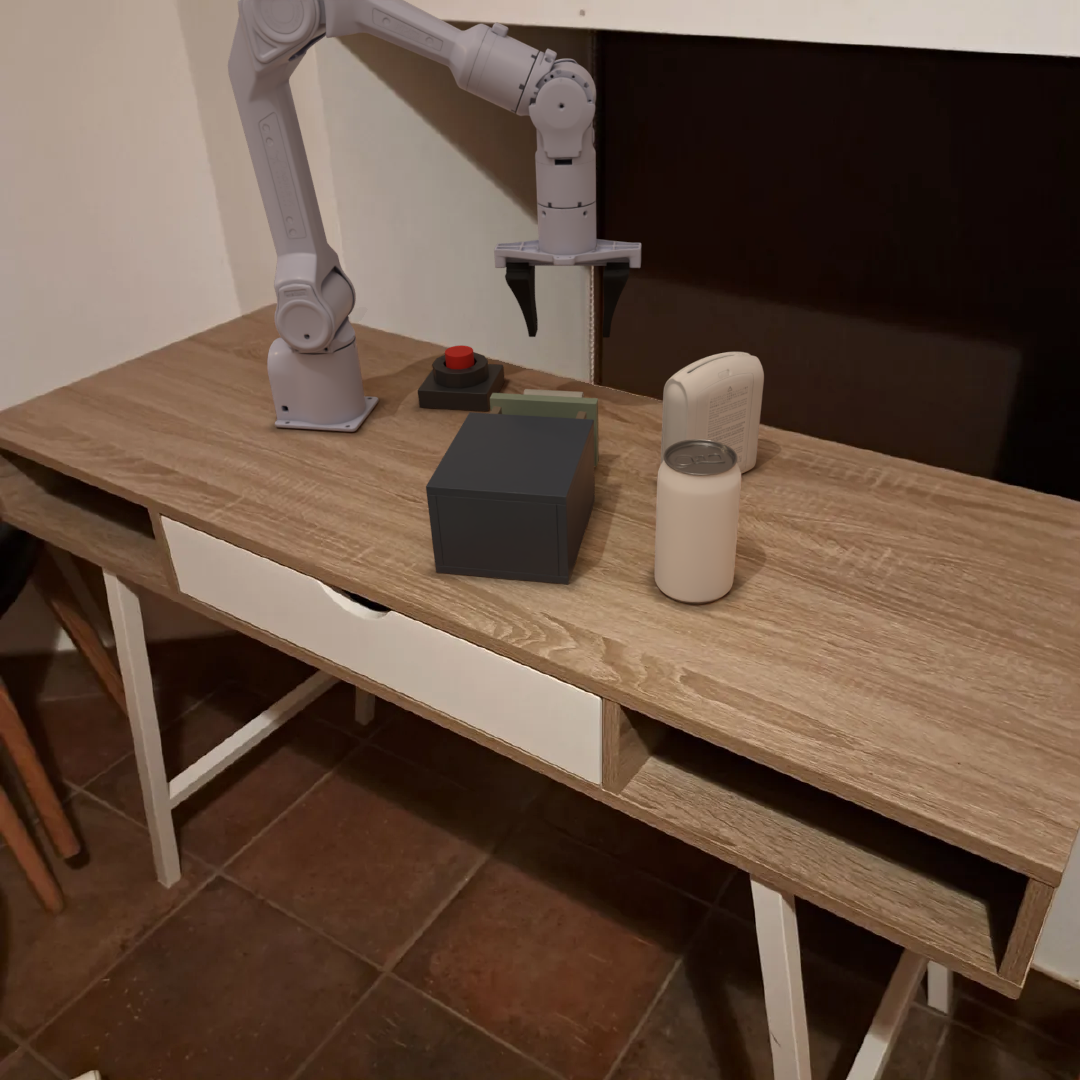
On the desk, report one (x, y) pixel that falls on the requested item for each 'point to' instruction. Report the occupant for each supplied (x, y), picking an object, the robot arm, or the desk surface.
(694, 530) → the can
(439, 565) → the cabinet
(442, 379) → the control block
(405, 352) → the desk surface
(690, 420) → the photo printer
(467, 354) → the button
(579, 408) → the drawer
